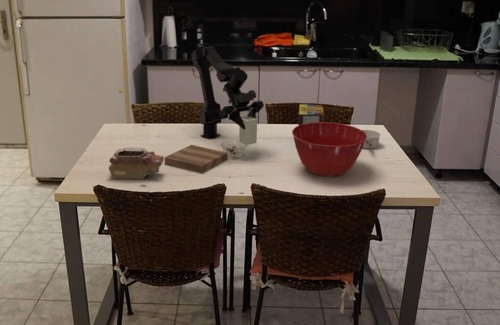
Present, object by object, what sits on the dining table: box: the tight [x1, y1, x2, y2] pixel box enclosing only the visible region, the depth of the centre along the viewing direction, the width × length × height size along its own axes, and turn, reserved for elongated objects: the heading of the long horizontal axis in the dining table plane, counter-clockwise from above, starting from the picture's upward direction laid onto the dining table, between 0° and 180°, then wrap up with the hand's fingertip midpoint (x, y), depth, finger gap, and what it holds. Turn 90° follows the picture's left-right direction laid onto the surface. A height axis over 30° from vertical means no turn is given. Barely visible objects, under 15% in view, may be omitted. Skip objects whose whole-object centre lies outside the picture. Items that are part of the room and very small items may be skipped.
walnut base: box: [164, 144, 229, 174], centre depth 234 cm, size 18×18×3 cm
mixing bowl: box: [291, 121, 367, 178], centre depth 225 cm, size 28×28×16 cm
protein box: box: [297, 104, 324, 126], centre depth 256 cm, size 10×15×16 cm
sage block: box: [238, 116, 258, 146], centre depth 235 cm, size 5×5×10 cm
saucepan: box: [361, 129, 381, 150], centre depth 251 cm, size 12×20×6 cm, turn 175°
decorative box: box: [108, 147, 165, 179], centre depth 220 cm, size 13×20×10 cm, turn 82°
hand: (250, 127), depth 233 cm, fingers closed on sage block, 5 cm apart
